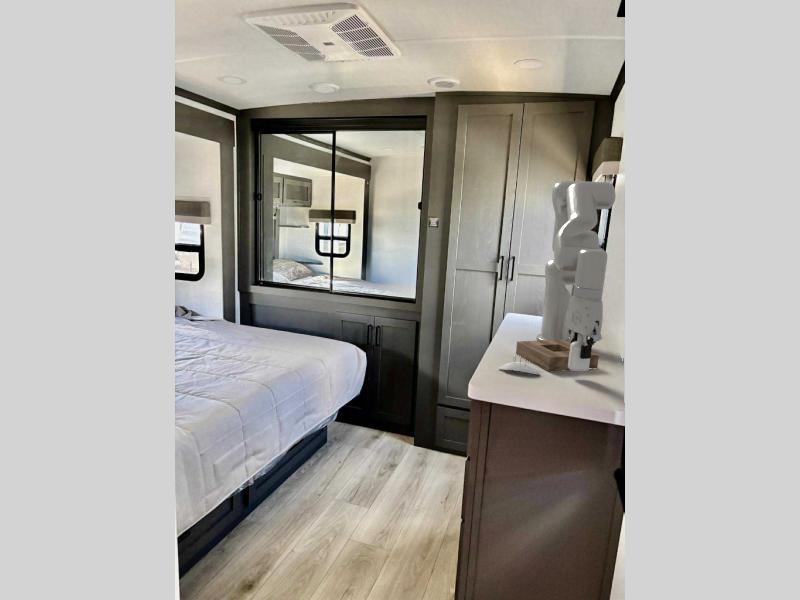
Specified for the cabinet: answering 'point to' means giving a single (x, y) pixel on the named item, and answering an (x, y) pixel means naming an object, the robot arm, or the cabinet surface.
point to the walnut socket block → (550, 354)
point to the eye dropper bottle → (577, 356)
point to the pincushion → (520, 367)
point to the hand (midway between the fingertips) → (579, 355)
